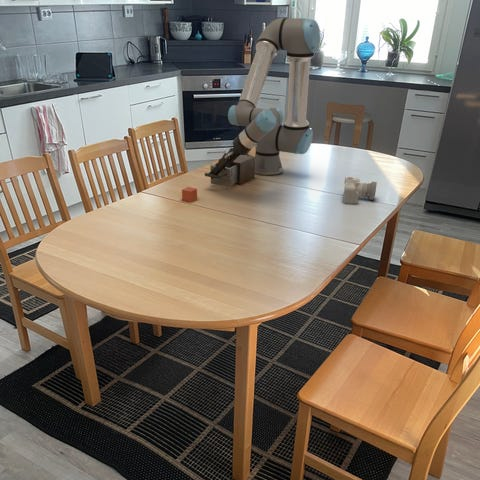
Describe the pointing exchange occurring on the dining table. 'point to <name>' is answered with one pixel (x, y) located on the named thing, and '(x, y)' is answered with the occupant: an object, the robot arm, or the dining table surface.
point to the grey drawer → (225, 175)
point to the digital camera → (357, 190)
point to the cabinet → (245, 168)
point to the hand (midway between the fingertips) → (211, 176)
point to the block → (189, 194)
